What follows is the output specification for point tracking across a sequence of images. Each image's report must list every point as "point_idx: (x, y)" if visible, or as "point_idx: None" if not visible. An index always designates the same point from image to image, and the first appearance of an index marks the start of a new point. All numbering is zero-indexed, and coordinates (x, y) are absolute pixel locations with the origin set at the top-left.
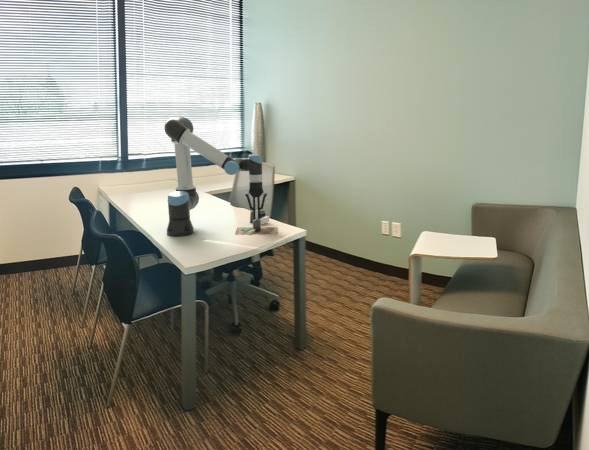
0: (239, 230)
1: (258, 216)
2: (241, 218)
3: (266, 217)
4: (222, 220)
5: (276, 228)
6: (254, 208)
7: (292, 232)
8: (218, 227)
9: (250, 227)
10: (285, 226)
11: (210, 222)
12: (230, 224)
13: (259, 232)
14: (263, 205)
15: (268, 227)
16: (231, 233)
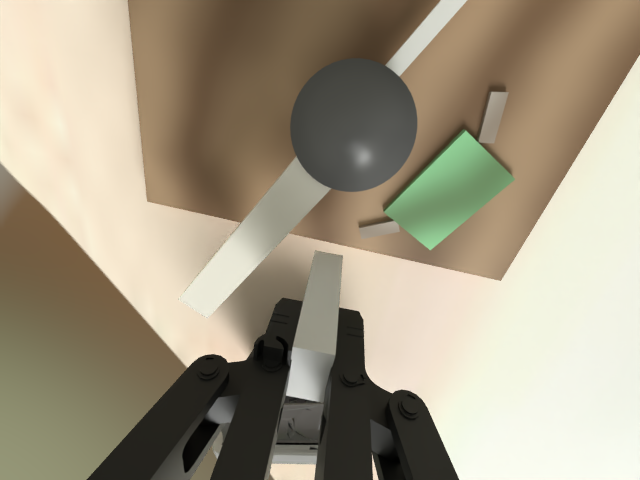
0: (529, 171)
1: (286, 397)
2: (374, 466)
3: (204, 268)
4: (493, 467)
5: (155, 155)
6: (344, 399)
7: (3, 30)
8: (606, 357)
9: (386, 250)
10: (107, 254)
11: (586, 457)
12: (484, 394)
13: (341, 14)
14: (140, 422)
15: (229, 209)
16: (614, 150)
